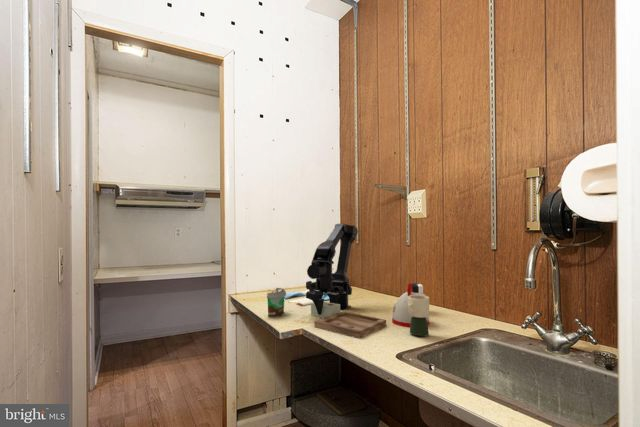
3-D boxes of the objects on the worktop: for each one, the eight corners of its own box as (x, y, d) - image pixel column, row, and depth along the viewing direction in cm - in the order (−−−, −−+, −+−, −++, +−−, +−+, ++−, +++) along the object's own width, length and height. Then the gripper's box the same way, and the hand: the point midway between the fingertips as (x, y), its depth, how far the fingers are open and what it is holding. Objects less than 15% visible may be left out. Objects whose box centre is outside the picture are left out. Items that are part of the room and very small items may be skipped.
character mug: (420, 329, 123) (419, 293, 124) (437, 334, 118) (436, 296, 118) (400, 335, 117) (400, 297, 117) (417, 341, 111) (417, 300, 112)
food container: (281, 318, 139) (281, 293, 140) (266, 317, 140) (266, 293, 141) (289, 310, 151) (289, 288, 152) (276, 310, 153) (276, 287, 153)
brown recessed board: (343, 316, 141) (343, 311, 141) (386, 325, 128) (386, 319, 128) (314, 326, 127) (314, 320, 127) (359, 338, 114) (359, 331, 114)
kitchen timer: (389, 325, 128) (388, 285, 129) (395, 316, 141) (394, 279, 142) (427, 329, 123) (427, 287, 124) (430, 319, 136) (429, 281, 137)
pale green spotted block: (320, 312, 149) (320, 300, 149) (340, 316, 142) (340, 304, 142) (311, 315, 144) (311, 302, 145) (331, 319, 137) (331, 306, 138)
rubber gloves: (269, 298, 179) (269, 286, 179) (315, 289, 201) (315, 278, 201) (302, 307, 159) (302, 293, 159) (349, 297, 181) (349, 284, 181)
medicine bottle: (406, 313, 146) (406, 284, 146) (408, 309, 152) (408, 282, 153) (424, 314, 143) (423, 285, 143) (425, 310, 150) (425, 283, 150)
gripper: (324, 271, 156) (325, 305, 156) (296, 276, 142) (296, 314, 141) (344, 273, 149) (344, 309, 148) (316, 279, 135) (316, 318, 134)
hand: (325, 312), depth 143 cm, fingers open, 8 cm apart
